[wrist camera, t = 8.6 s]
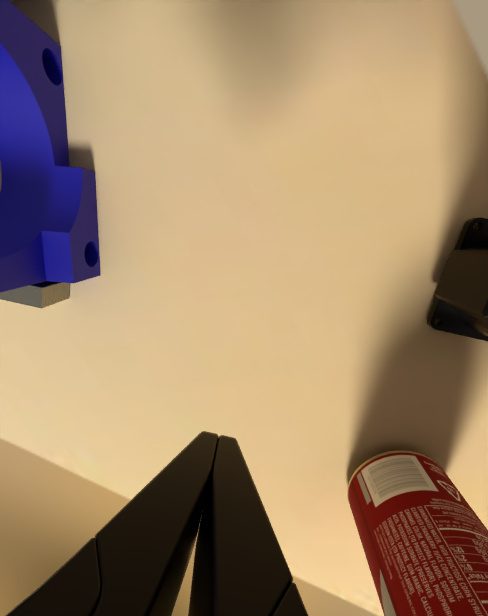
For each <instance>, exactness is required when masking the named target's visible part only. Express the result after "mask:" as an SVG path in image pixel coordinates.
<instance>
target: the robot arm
mask: <svg viewBox="0 0 488 616" xmlns="http://www.w3.org/2000/svg"><path fill="white" fill-rule="evenodd" d="M476 223H477V225H478V228H477V230H476V231H474V230H473V226H474V225H475V224H476ZM435 294H436V297H435V300H434V302H433V305H432V307H431V310H430V312H429V315H428V317H427V324H428V325H429V326H430V327H432V328H433V329H436V330H440V331H444V332H449V333H453V334H458V335H462V336H467V337H471V338H476V339H480V340H485V341H488V219H485V218H472V219H469V220H468V221H467V222H466V223H465V225H464V227H463V230H462V232H461V235H460V237H459V240H458V242H457V245H456V247H455V250H454V251H453V252H452V253H451V254H450V257H449V259H448V262H447V264H446V267H445V269H444V272H443V274H442V277H441V280H440V282H439V285H438V287H437V290H436V292H435ZM437 318H440V321H439V322H438V323H436V324H435V320H436V319H437ZM217 442H218V443H217ZM202 511H203V512H202ZM200 520H201V521H200ZM199 524H200V525H199ZM198 529H199V530H198ZM197 533H198V536H197ZM196 537H197V542H196V549H195V557H194V568H193V576H192V585H191V595H190V604H189V614H188V616H308V614H307V611H306V609H305V607H304V604H303V601H302V599H301V597H300V594H299V592H298V589H297V587H296V584H295V583H292V581H293V577H292V575H291V572H290V570H289V567H288V565H287V563H286V560H285V558H284V555H283V553H282V550H281V548H280V545H279V543H278V540H277V538H276V536H275V533H274V531H273V528H272V526H271V523H270V521H269V518H268V516H267V514H266V511H265V509H264V506H263V504H262V501H261V499H260V496H259V494H258V491H257V489H256V487H255V484H254V482H253V479H252V477H251V474H250V472H249V469H248V467H247V464H246V462H245V460H244V457H243V455H242V452H241V450H240V447H239V445H238V442H237V440H236V439H235V438H233V437H228V436H224V435H221V436H219V438H218V435H217V434H215V433H210V432H206V431H203V432H201V433H200V434H199V435H198V436H197V437H196V438H195V439H194V440H193V441H192V442H191V443H190V444H189V445H188V446H187V447H186V448H184V449H183V450H182V451H181V452H180V453H179V454H178V455H177V456H176V457H175V458H174V459H173V460H172V461H171V462H170V463H169V464H168V465H167V466H166V467H165V468H164V469H163V470H162V471H161V472H160V473H159V474H158V475H157V476H156V477H155V478H153V479H152V480H151V481H150V482H149V483H148V484H147V485H146V486H145V487H144V488H143V489H142V490H141V491H140V492H139V493H138V494H137V495H136V496H135V497H134V498H133V499H132V500H131V501H130V502H129V503H128V504H127V505H126V506H125V507H123V509H121V510H120V512H118V513H117V514H116V515H115V516H114V517H113V518H112V519H111V520H110V521H109V522H108V523H107V524H106V525H105V526H104V527H103V528H102V529H101V530H100V531H99V532H98V533H97V534H96V535H95V538H91V539H90V540H89V541H88V542H87V543H86V544H85V545H84V546H83V547H82V548H81V549H80V550H79V551H78V552H77V553H76V554H75V555H74V556H73V557H72V558H71V559H69V560H68V561H67V562H66V563H65V564H64V565H63V566H62V567H61V568H60V569H59V570H57V571H56V572H55V573H54V574H53V575H52V576H51V577H50V578H49V579H48V580H47V581H46V582H44V583H43V584H42V585H41V586H40V587H39V588H38V589H37V590H35V591H34V592H33V593H32V594H31V595H29V596H28V597H27V598H26V599H25V600H23V601H22V602H21V603H20V604H19V605H17V606H16V607H15V608H14V609H13V610H12V611H10V612H9V613H8V614H7V615H6V616H171V615H172V612H173V609H174V606H175V603H176V600H177V597H178V593H179V591H180V588H181V584H182V581H183V578H184V575H185V572H186V569H187V566H188V563H189V560H190V557H191V554H192V551H193V548H194V544H195V541H196Z"/></svg>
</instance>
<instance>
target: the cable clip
mask: <svg viewBox="0 0 488 616" xmlns="http://www.w3.org/2000/svg"><path fill="white" fill-rule="evenodd" d="M0 162H1V176H2V177H1V190H0V293H1V292H5V291H8V290H12V289H16V288H20V287H24V286H28V285H32V284H36V283H40V282H44V281H52V282H64V283H76V282H80V281H83V280H86V279H90V278H93V277H96V276H100V257H99V238H98V219H97V200H96V180H95V172H93V171H90V170H87V169H84V168H77V167H69V153H68V139H67V125H66V112H65V98H64V84H63V70H62V56H61V46H59V45H58V44H57V43H56V42H55V41H54V40H53V39H52V38H51V37H49V36H48V35H47V34H46V33H45V32H44V31H43V30H42V29H40V28H39V27H38V26H37V25H36V24H35V23H34V22H33V21H32V20H30V19H29V18H28V17H27V16H26V15H25V14H24V13H23V12H21V11H20V10H19V9H18V8H17V7H16V6H15V5H14V4H13V3H11V2H10V1H9V0H0Z"/></svg>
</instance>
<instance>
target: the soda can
mask: <svg viewBox="0 0 488 616" xmlns="http://www.w3.org/2000/svg"><path fill="white" fill-rule="evenodd" d="M348 500H349V504H350V507H351V510H352V513H353V516H354V520H355V523H356V526H357V529H358V532H359V536H360V539H361V542H362V545H363V548H364V552H365V555H366V558H367V561H368V564H369V568H370V571H371V574H372V577H373V580H374V584H375V587H376V590H377V593H378V596H379V600H380V603H381V606H382V609H383V613H384V616H488V530H487V529H486V527H485V526H484V525H483V523H482V522H481V521H480V519H479V518H478V516H477V515H476V514H475V512H474V511H473V510H472V508H471V507H470V506H469V504H468V503H467V502H466V500H465V499H464V498H463V496H462V495H461V494H460V492H459V491H458V489H457V488H456V487H455V485H454V484H453V483H452V481H451V480H450V479H449V477H448V476H447V475H446V473H445V472H444V471H443V469H442V468H441V467H440V466H439V465H438V464H437V463H436V462H435V461H434V460H432V459H431V458H429V457H427V456H425V455H423V454H420V453H417V452H412V451H405V450H397V451H389V452H384V453H381V454H378V455H375V456H373V457H371V458H370V459H368V460H366V461H365V462H364V463H362V464H361V465H360V466H359V467H358V468H357V469H356V471H355V472H354V473H353V475H352V477H351V479H350V481H349V485H348Z"/></svg>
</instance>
